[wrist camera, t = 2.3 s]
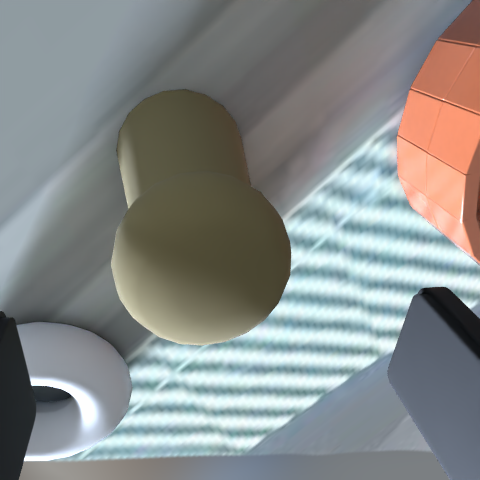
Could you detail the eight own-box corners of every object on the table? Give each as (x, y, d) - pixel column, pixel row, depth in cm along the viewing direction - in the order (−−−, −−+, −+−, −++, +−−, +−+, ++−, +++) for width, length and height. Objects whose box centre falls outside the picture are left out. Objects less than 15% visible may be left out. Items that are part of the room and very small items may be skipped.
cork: (96, 106, 18) (44, 229, 9) (229, 75, 19) (311, 161, 9) (139, 222, 21) (134, 399, 12) (251, 193, 22) (329, 344, 13)
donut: (163, 374, 28) (57, 279, 22) (166, 420, 25) (45, 324, 19) (42, 441, 29) (-87, 366, 23) (31, 492, 26) (-119, 420, 20)
